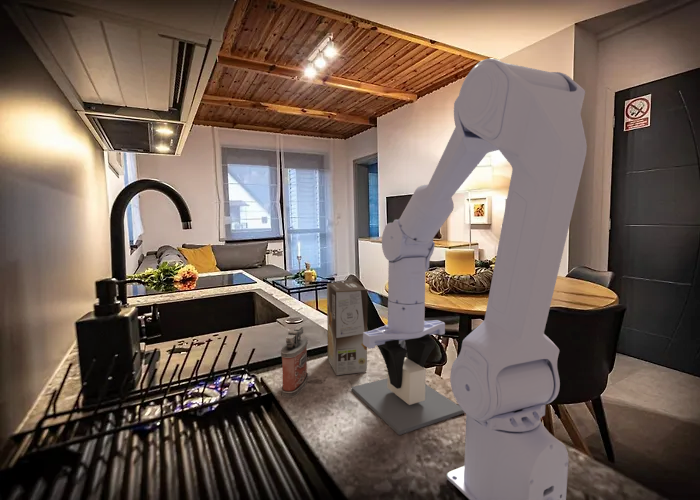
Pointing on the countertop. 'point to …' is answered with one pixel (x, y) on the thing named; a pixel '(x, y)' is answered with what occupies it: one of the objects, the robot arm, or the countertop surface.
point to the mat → (406, 407)
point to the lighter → (294, 363)
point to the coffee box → (346, 327)
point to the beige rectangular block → (410, 383)
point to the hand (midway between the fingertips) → (404, 383)
